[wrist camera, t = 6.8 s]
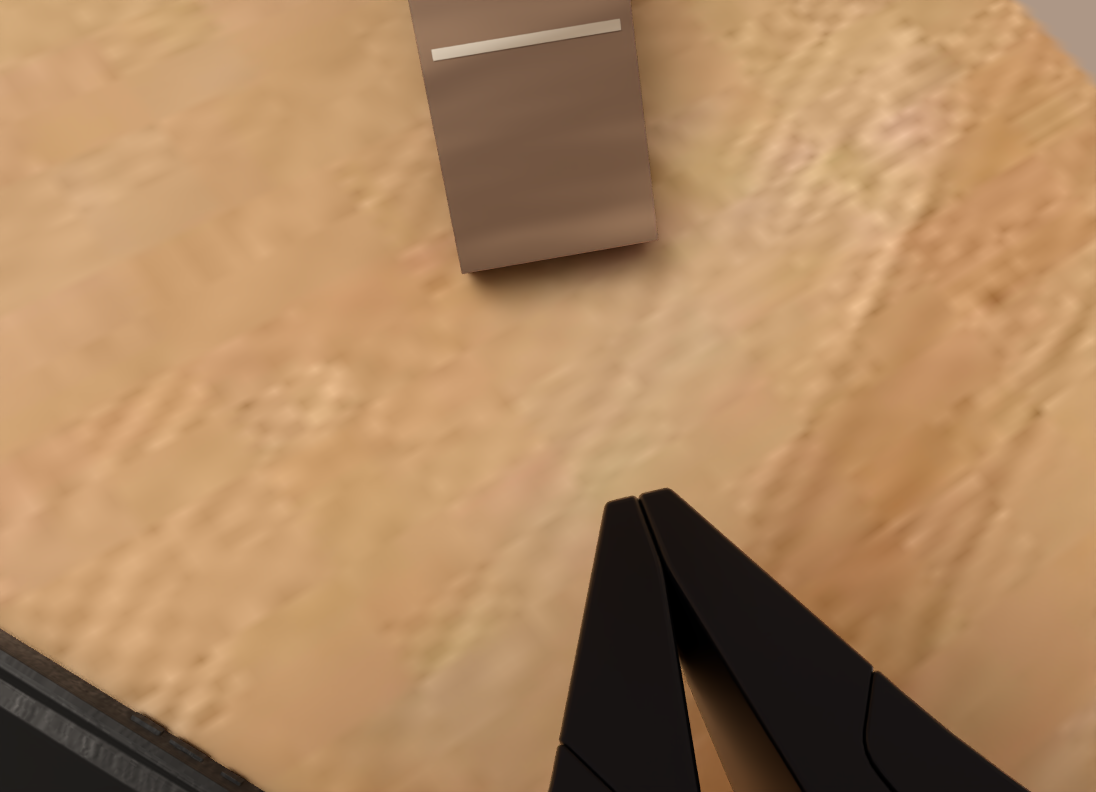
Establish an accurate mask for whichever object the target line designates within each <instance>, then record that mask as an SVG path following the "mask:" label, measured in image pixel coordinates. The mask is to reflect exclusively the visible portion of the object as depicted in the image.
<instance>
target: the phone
mask: <svg viewBox="0 0 1096 792" xmlns="http://www.w3.org/2000/svg"><path fill="white" fill-rule="evenodd" d="M0 792H264V791H263V790H261V789H259V788H258V787H256V786H254V785H253V784H251V783H250V782H248V781H246V780H245V779H243V778H241V777H240V776H238V775H237V774H235V773H233V772H232V771H230V770H228V769H227V768H225V767H224V766H222V765H220V764H219V763H217V762H215V761H214V760H212V759H211V758H209V757H207V756H206V755H205V754H203V753H202V752H200V751H198V750H197V749H195V748H193V747H192V746H190V745H189V744H187V743H185V742H184V741H182V740H180V739H179V738H177V737H175V736H173V735H172V734H170V733H168V732H167V731H165V729H164V728H163V727H161V726H159V725H158V724H156V723H154V722H153V721H151V720H150V719H148V718H146V717H145V716H143V715H142V714H140V713H138V712H134V711H133V710H131V709H130V708H128V707H126V706H125V705H123V704H121V703H120V702H118V701H117V700H115V699H113V698H112V697H110V696H108V695H107V694H105V693H104V692H102V691H100V690H99V689H97V688H95V687H94V686H92V685H91V684H89V683H87V682H86V681H84V680H82V679H81V678H79V677H78V676H76V675H74V674H73V673H71V672H70V671H68V670H66V669H65V668H63V667H61V666H60V665H58V664H57V663H55V662H53V661H52V660H50V659H48V658H47V657H45V656H44V655H42V654H40V653H39V652H37V651H35V650H34V649H32V648H31V647H29V646H27V645H26V644H24V643H22V642H21V641H19V640H18V639H16V638H14V637H13V636H11V635H10V634H8V633H6V632H5V631H3V630H1V629H0Z"/></svg>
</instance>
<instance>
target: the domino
mask: <svg viewBox="0 0 1096 792" xmlns="http://www.w3.org/2000/svg"><path fill="white" fill-rule="evenodd" d="M408 2H409V7H410V12H411V17H412V22H413V27H414V32H415V38H416V43H417V48H418V53H419V58H420V63H421V68H422V73H423V78H424V83H425V88H426V94H427V99H428V104H429V109H430V114H431V119H432V124H433V129H434V134H435V139H436V144H437V150H438V155H439V160H440V165H441V170H442V175H443V180H444V185H445V190H446V195H447V200H448V206H449V211H450V216H451V221H452V226H453V231H454V236H455V241H456V246H457V251H458V256H459V262H460V267H461V272H462V274H465V273H470V272H476V271H482V270H488V269H494V268H499V267H505V266H511V265H517V264H523V263H528V262H534V261H540V260H546V259H551V258H557V257H563V256H569V255H575V254H580V253H586V252H592V251H598V250H604V249H609V248H615V247H621V246H627V245H632V244H638V243H644V242H650V241H656V240H658V233H657V225H656V216H655V207H654V199H653V190H652V182H651V173H650V164H649V156H648V147H647V138H646V130H645V121H644V112H643V104H642V95H641V87H640V78H639V69H638V61H637V52H636V43H635V35H634V26H633V18H632V9H631V0H408Z"/></svg>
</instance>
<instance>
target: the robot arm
mask: <svg viewBox="0 0 1096 792" xmlns="http://www.w3.org/2000/svg"><path fill="white" fill-rule="evenodd" d="M680 664H681V666H680ZM681 667H682V669H683V672H684V675H685V677H686V680H687V682H688V685H689V687H690V689H691V692H692V694H693V696H694V699H695V701H696V703H697V706H698V708H699V711H700V713H701V715H702V718H703V720H704V722H705V725H706V727H707V730H708V732H709V734H710V737H711V739H712V741H713V744H714V746H715V749H716V751H717V753H718V756H719V758H720V760H721V763H722V765H723V768H724V770H725V772H726V775H727V777H728V779H729V782H730V784H731V786H732V789H733V791H734V792H1031V791H1029V790H1028V789H1027V788H1025V787H1024V786H1022V785H1021V784H1020V783H1018V782H1017V781H1015V780H1014V779H1013V778H1011V777H1010V776H1009V775H1007V774H1006V773H1004V772H1003V771H1002V770H1000V769H999V768H998V767H997V766H995V765H994V764H993V763H991V762H990V761H989V760H987V759H986V758H985V757H983V756H982V755H981V754H979V753H978V752H977V751H975V750H974V749H973V748H971V747H970V746H969V745H967V744H966V743H965V742H963V741H962V740H961V739H959V738H958V737H957V736H955V735H954V734H953V733H951V732H950V731H949V730H948V729H947V728H945V727H944V726H943V725H942V724H941V723H939V722H938V721H937V720H936V719H935V718H933V717H932V716H931V715H930V714H929V713H927V712H926V711H925V710H924V709H923V708H921V707H920V706H919V705H918V704H917V703H915V702H914V701H913V700H912V699H911V698H909V697H908V696H907V695H906V694H905V693H904V692H903V691H901V690H900V689H899V688H898V687H897V686H896V685H895V684H893V683H892V682H891V681H890V680H889V679H888V678H887V677H886V676H884V675H883V674H882V673H881V672H880V671H874V672H873V666H872V665H871V664H870V663H869V662H868V661H867V660H866V659H865V658H863V657H862V656H861V655H860V654H859V653H858V652H857V651H855V650H854V649H853V648H852V647H851V646H850V645H849V644H847V643H846V642H845V641H844V640H843V639H842V638H841V637H839V636H838V635H837V634H836V633H835V632H834V631H833V630H832V629H830V628H829V627H828V626H827V625H826V624H825V623H824V622H822V621H821V620H820V619H819V618H818V617H817V616H816V615H814V614H813V613H812V612H811V611H810V610H809V609H808V608H806V607H805V606H804V605H803V604H802V603H801V602H800V601H798V600H797V599H796V598H795V597H794V596H793V595H792V594H790V593H789V592H788V591H787V590H786V589H785V588H784V587H782V586H781V585H780V584H779V583H778V582H777V581H776V580H775V579H773V578H772V577H771V576H770V575H769V574H768V573H767V572H765V571H764V570H763V569H762V568H761V567H760V566H759V565H757V564H756V563H755V562H754V561H753V560H752V559H751V558H749V557H748V556H747V555H746V554H745V553H744V552H743V551H741V550H740V549H739V548H738V547H737V546H736V545H735V544H733V543H732V542H731V541H730V540H729V539H728V538H727V537H725V536H724V535H723V534H722V533H721V532H720V531H719V530H718V529H716V528H715V527H714V526H713V525H712V524H711V523H710V522H708V521H707V520H706V519H705V518H704V517H703V516H702V515H700V514H699V513H698V512H697V511H696V510H695V509H694V508H692V507H691V506H690V505H689V504H688V503H687V502H686V501H684V500H683V499H682V498H681V497H680V496H679V495H678V494H676V493H675V492H674V491H673V490H671V489H669V488H663V489H658V490H654V491H650V492H646V493H642V494H641V495H640V496H639V499H638V498H636V497H635V496H629V497H624V498H620V499H616V500H612V501H609V502H607V503H606V505H605V507H604V511H603V516H602V522H601V527H600V532H599V537H598V542H597V547H596V552H595V558H594V563H593V568H592V573H591V578H590V583H589V588H588V594H587V599H586V604H585V609H584V614H583V619H582V624H581V630H580V635H579V640H578V645H577V650H576V655H575V661H574V666H573V671H572V676H571V681H570V686H569V691H568V697H567V702H566V707H565V712H564V717H563V722H562V727H561V733H560V738H559V741H560V744H561V745H559V746H558V747H557V751H556V756H555V761H554V766H553V772H552V777H551V781H550V786H549V790H548V792H701V790H700V784H699V778H698V771H697V765H696V759H695V753H694V747H693V740H692V734H691V728H690V722H689V716H688V710H687V703H686V697H685V691H684V685H683V679H682V672H681Z"/></svg>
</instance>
